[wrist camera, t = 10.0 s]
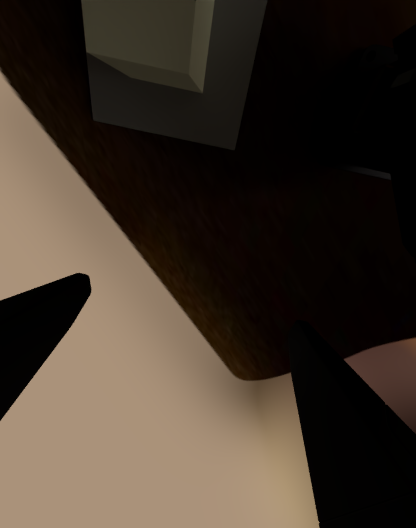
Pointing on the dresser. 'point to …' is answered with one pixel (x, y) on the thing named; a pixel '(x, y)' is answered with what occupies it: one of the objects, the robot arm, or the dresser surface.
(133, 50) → the cube
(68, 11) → the dresser surface
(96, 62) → the mat
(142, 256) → the dresser surface
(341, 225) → the dresser surface
